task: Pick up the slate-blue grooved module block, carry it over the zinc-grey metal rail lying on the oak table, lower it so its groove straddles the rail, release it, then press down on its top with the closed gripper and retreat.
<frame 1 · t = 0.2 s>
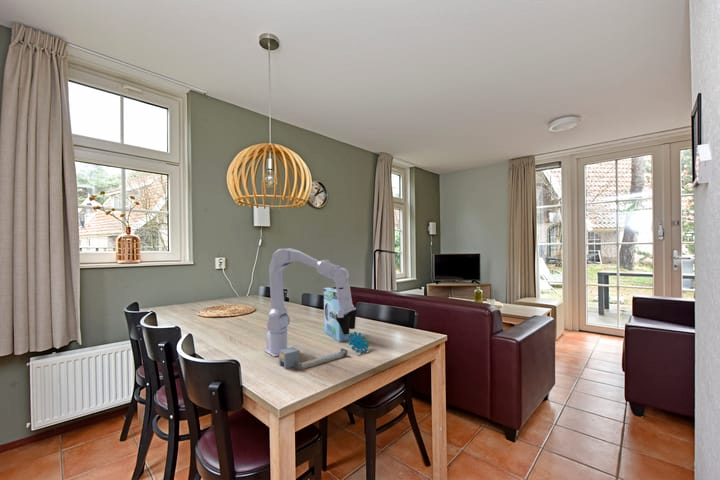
hand: (349, 331, 127), 11 cm above the table, tool pointing down, fingers open, 7 cm apart
gear: (359, 351, 135), on the table
gum box: (335, 336, 157), on the table
module: (289, 364, 120), on the table
rail: (322, 361, 123), on the table
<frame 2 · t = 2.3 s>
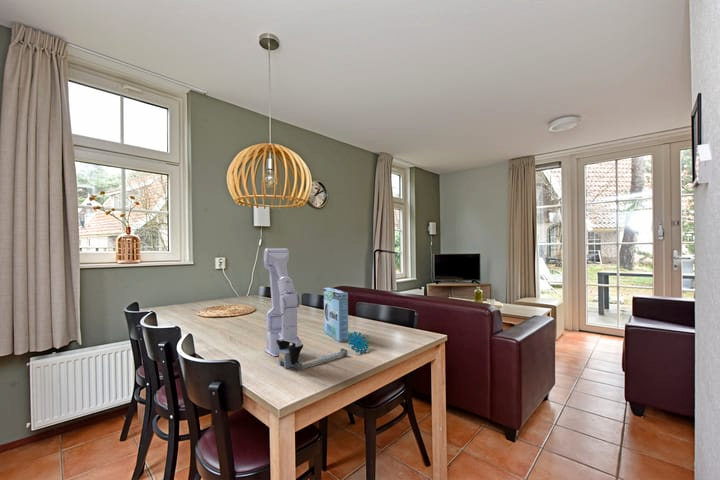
hand: (289, 360, 120), 1 cm above the table, tool pointing down, fingers open, 7 cm apart
nothing on the table moved.
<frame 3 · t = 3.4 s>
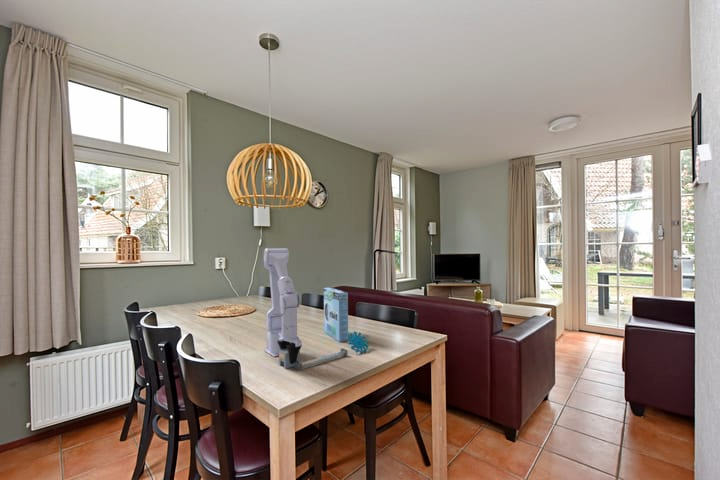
hand: (289, 360, 120), 1 cm above the table, tool pointing down, fingers closed on module, 5 cm apart
module: (289, 364, 120), on the table, touching gripper
everything else where it was.
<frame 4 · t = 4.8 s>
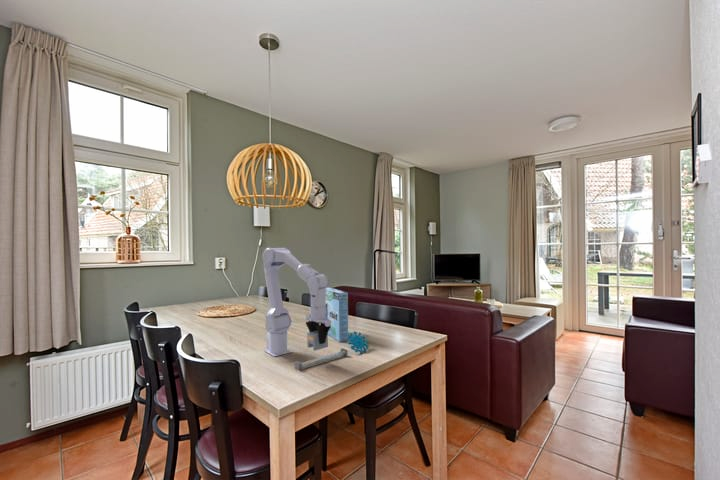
hand: (318, 341, 122), 8 cm above the table, tool pointing down, fingers closed on module, 5 cm apart
module: (317, 347, 121), point 6 cm above the table, touching gripper
everything else where it was.
when the fingers open (2 cm above the table, at t = 6.7 s): module stays where it is, resting in rail.
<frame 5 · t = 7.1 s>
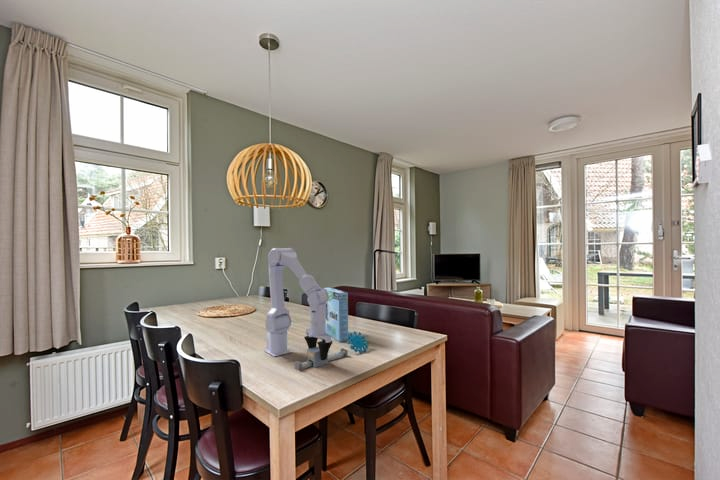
hand: (318, 356, 121), 2 cm above the table, tool pointing down, fingers open, 7 cm apart
module: (317, 363, 121), resting in rail
everything else where it was.
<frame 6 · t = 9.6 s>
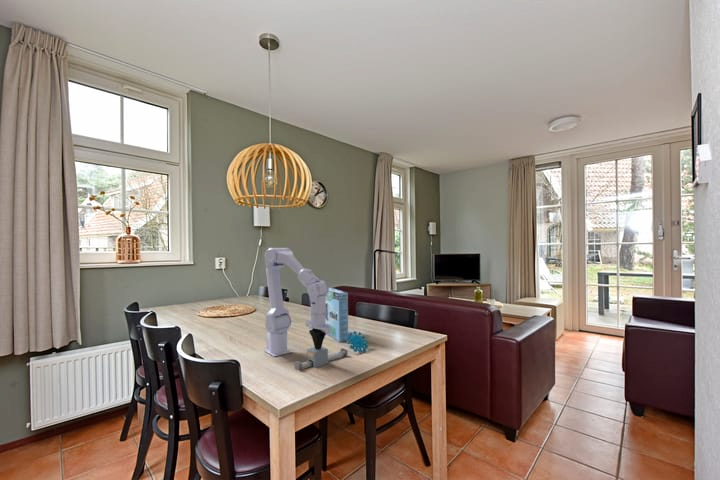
hand: (318, 348, 122), 6 cm above the table, tool pointing down, fingers closed
nothing on the table moved.
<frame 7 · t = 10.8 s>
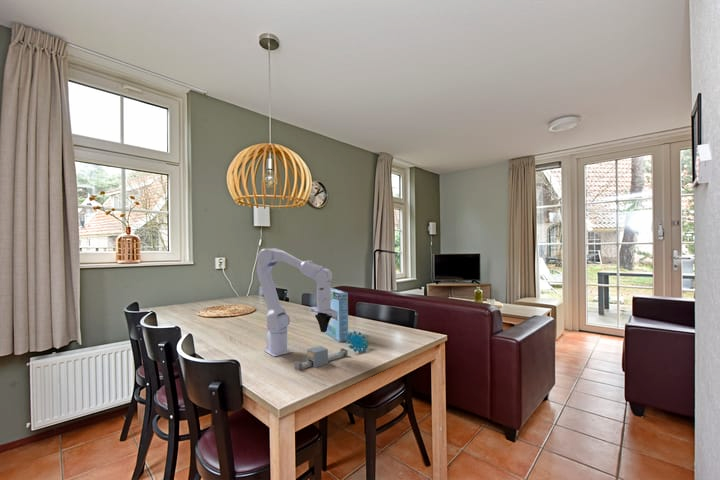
hand: (323, 331, 129), 10 cm above the table, tool pointing down, fingers closed
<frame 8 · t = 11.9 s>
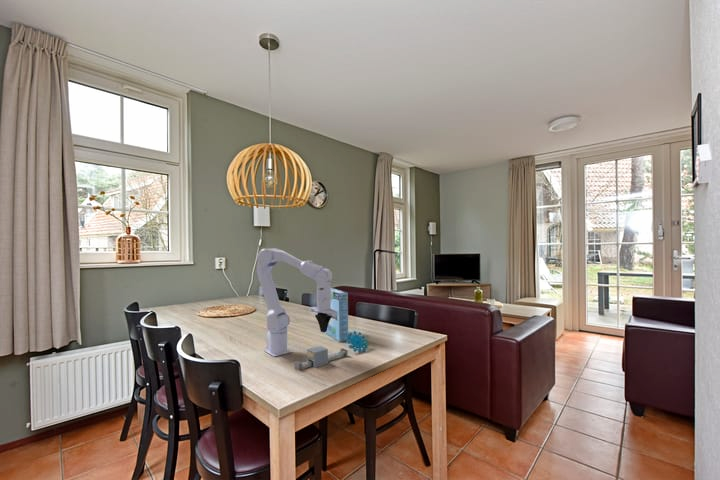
hand: (323, 331, 129), 10 cm above the table, tool pointing down, fingers closed
at the end: module inside the target area on the rail (1.2 cm from its centre), point 0.0 cm above the rail's base; module tilted 0°; the gripper is holding nothing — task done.
